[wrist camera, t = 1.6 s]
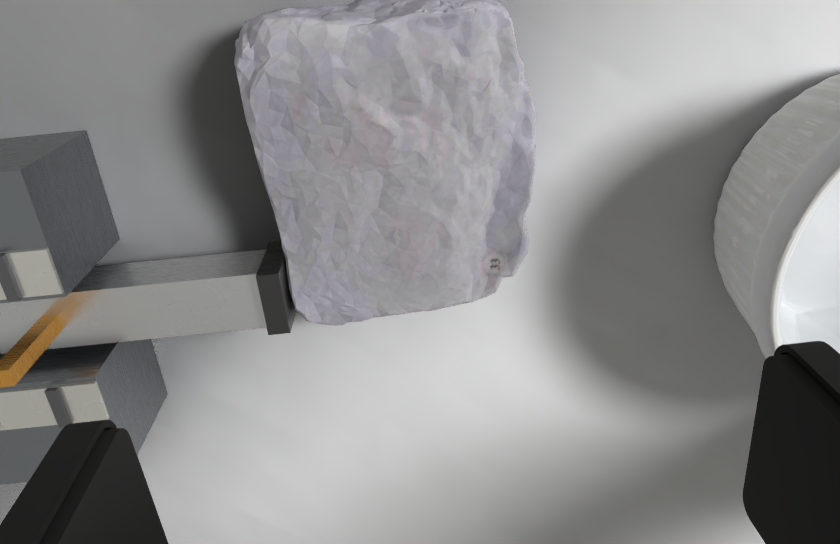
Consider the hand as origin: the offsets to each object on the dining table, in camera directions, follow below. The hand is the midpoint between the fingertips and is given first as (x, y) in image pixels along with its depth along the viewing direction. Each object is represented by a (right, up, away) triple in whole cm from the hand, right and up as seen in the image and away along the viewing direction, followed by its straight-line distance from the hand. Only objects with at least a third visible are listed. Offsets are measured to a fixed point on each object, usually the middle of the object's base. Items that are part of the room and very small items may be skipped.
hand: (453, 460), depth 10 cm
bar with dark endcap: (-11, +2, +17) cm, 20 cm away
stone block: (-1, +8, +16) cm, 18 cm away
